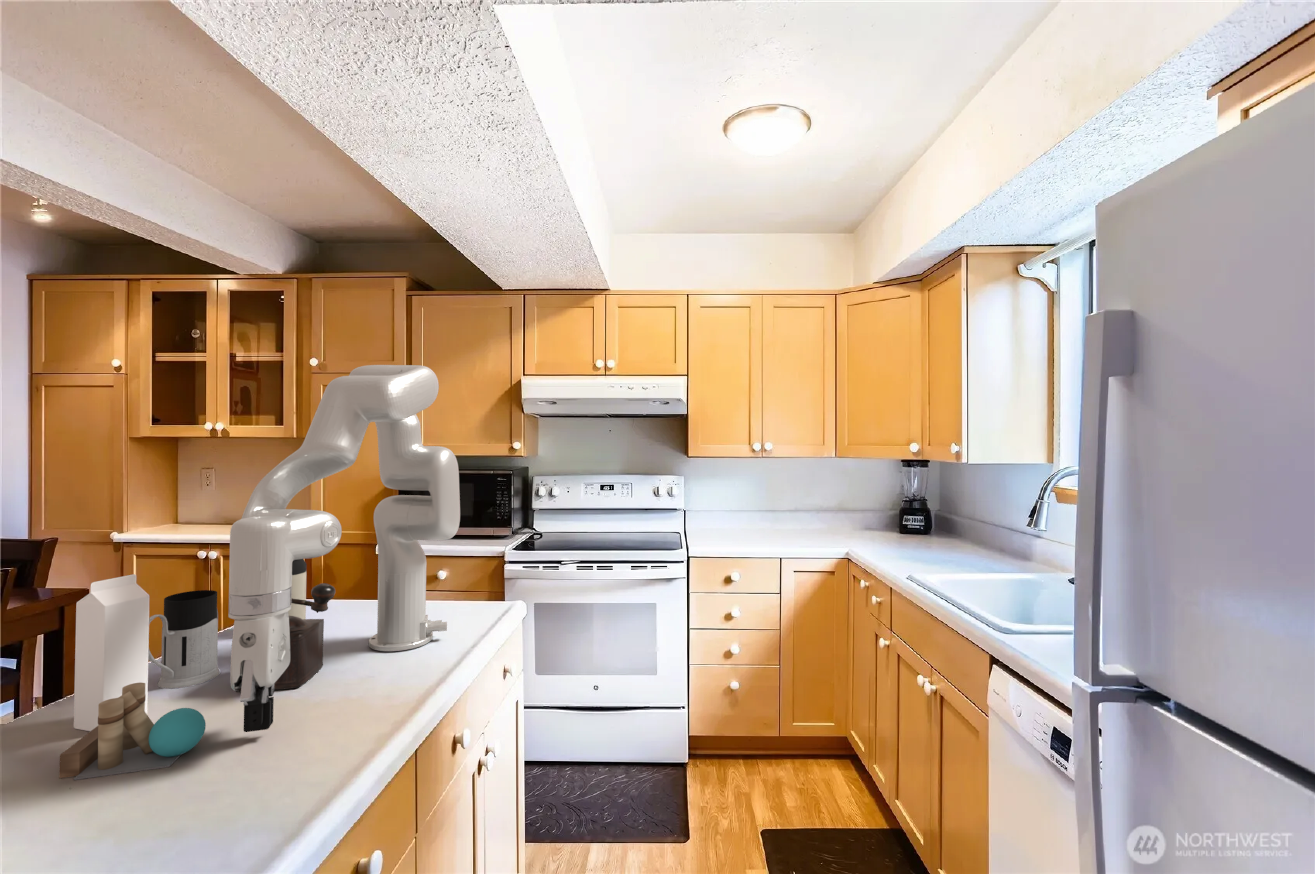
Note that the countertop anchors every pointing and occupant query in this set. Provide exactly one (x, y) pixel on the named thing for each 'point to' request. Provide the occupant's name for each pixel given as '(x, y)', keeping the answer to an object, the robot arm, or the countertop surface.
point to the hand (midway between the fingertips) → (258, 727)
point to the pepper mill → (306, 641)
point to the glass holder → (188, 639)
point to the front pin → (137, 722)
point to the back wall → (79, 755)
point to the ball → (177, 732)
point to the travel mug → (298, 588)
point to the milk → (109, 645)
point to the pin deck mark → (129, 764)
